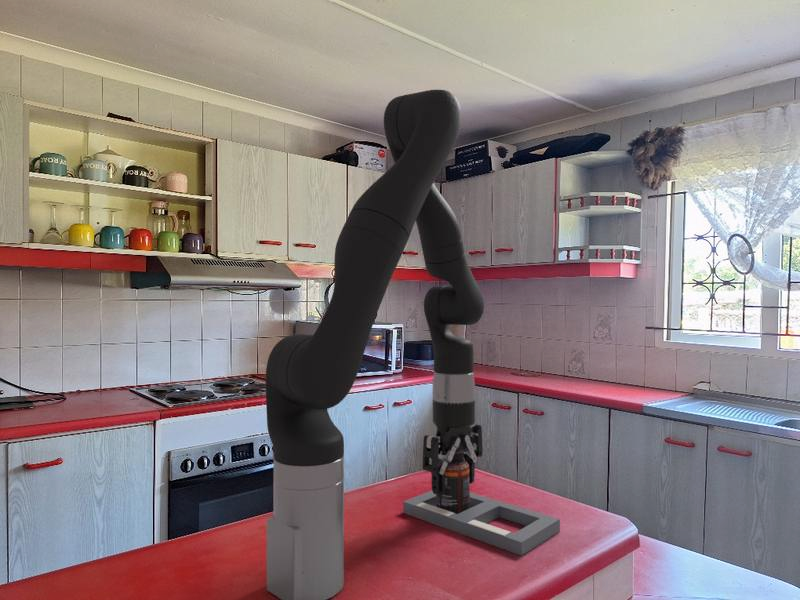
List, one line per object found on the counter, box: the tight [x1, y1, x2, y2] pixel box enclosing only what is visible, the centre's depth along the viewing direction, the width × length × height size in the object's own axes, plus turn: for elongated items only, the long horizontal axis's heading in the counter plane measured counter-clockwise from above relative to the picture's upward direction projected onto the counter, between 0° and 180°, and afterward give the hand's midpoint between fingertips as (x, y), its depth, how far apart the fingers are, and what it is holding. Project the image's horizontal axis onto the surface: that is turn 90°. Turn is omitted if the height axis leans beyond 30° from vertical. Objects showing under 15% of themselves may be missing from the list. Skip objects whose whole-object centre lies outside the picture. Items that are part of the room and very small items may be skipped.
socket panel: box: [402, 489, 561, 556], centre depth 95 cm, size 12×24×2 cm, turn 47°
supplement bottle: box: [436, 450, 471, 514], centre depth 98 cm, size 6×6×11 cm
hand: (453, 488), depth 98 cm, fingers open, 8 cm apart
